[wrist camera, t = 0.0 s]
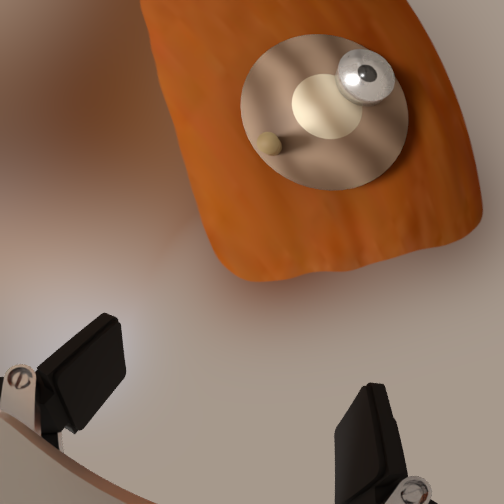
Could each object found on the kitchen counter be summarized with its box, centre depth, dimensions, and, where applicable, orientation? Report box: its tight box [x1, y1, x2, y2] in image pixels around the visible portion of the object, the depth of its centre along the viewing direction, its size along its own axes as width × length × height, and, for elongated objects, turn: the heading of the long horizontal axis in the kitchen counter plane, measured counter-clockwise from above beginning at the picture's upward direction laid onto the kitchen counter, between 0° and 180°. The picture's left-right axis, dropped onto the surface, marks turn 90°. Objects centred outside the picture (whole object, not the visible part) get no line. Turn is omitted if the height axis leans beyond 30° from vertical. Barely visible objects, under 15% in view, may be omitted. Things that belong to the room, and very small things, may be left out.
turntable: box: [241, 34, 408, 190], centre depth 28 cm, size 22×22×6 cm
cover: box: [335, 49, 395, 106], centre depth 26 cm, size 7×7×4 cm
